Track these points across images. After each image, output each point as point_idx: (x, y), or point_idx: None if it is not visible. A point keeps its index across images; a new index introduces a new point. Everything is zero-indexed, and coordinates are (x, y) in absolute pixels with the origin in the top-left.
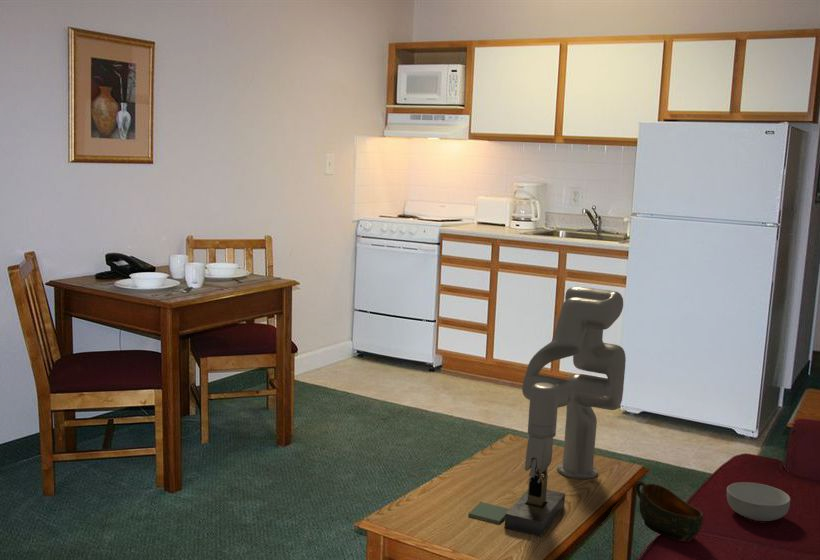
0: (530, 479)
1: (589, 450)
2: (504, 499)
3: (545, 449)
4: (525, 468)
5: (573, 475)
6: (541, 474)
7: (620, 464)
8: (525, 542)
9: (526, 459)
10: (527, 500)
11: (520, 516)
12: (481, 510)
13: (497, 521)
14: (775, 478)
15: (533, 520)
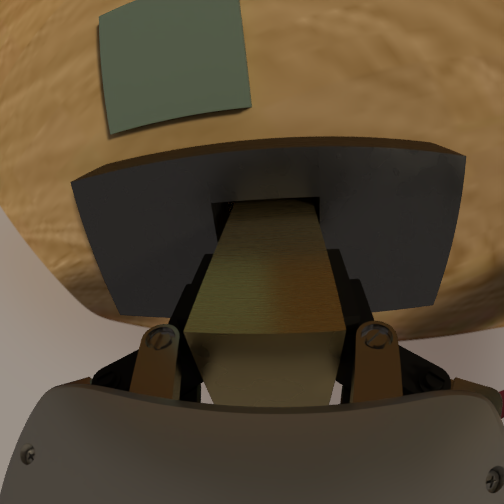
0: (142, 347)
1: None
2: (367, 39)
3: None
4: (37, 404)
5: None
6: (315, 383)
7: None
8: (85, 259)
9: (7, 484)
10: (228, 219)
11: (93, 242)
12: (149, 24)
13: (110, 126)
14: None
15: (108, 289)
